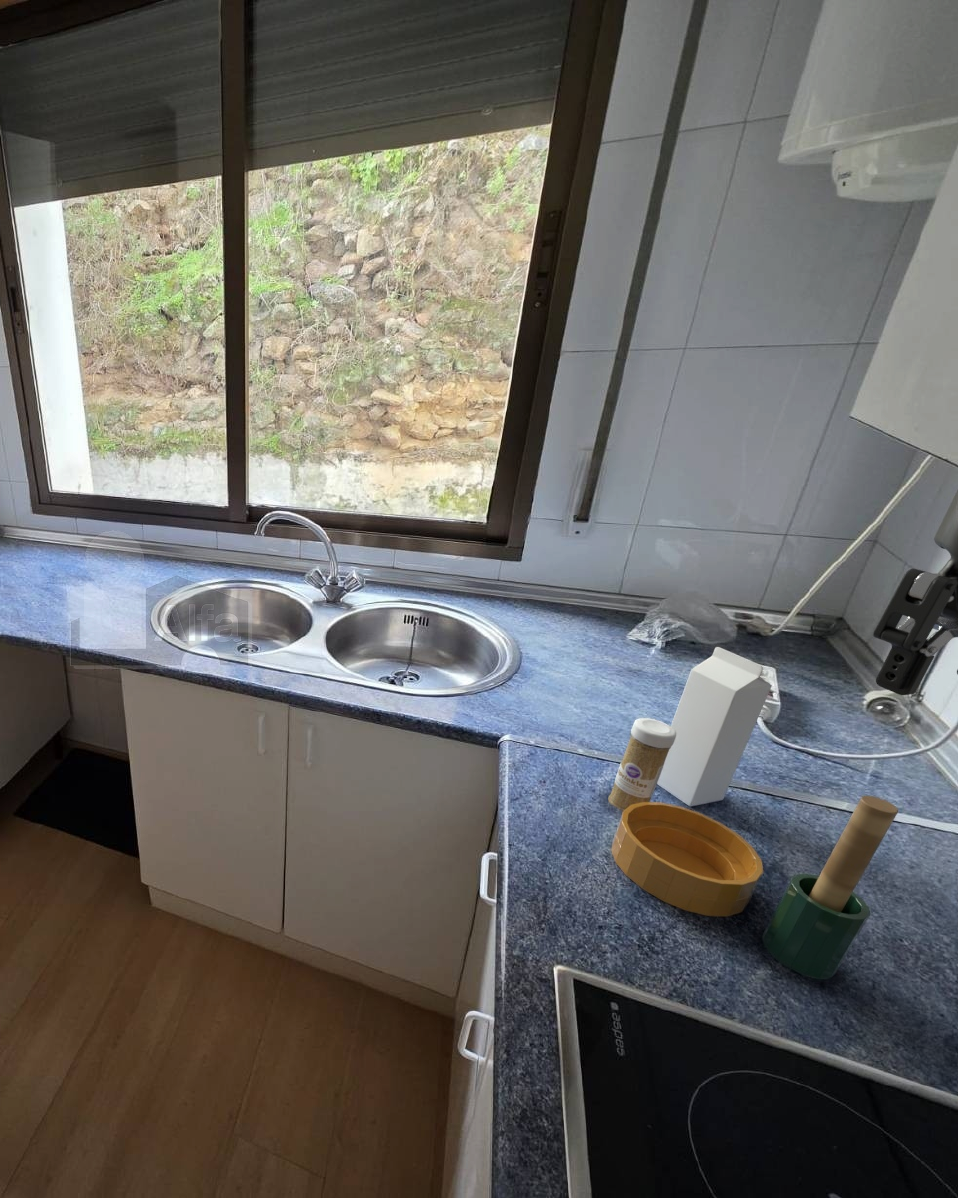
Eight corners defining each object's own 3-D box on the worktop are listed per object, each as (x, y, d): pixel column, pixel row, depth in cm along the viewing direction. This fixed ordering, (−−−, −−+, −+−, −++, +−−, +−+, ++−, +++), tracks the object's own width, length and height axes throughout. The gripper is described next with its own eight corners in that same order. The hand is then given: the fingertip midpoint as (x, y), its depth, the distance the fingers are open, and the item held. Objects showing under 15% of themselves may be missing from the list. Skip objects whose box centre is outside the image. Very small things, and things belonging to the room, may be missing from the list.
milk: (682, 774, 94) (733, 643, 86) (724, 801, 89) (782, 663, 81) (649, 780, 93) (698, 647, 85) (689, 807, 88) (745, 669, 79)
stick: (805, 947, 67) (888, 798, 59) (818, 967, 65) (905, 815, 57) (777, 940, 68) (855, 792, 60) (788, 960, 66) (870, 809, 58)
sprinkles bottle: (603, 806, 88) (630, 725, 83) (612, 791, 91) (639, 712, 86) (642, 823, 85) (673, 740, 80) (650, 807, 88) (680, 726, 83)
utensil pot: (814, 943, 68) (849, 882, 65) (845, 990, 63) (884, 926, 60) (750, 928, 70) (780, 867, 66) (775, 972, 65) (809, 909, 62)
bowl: (718, 850, 81) (733, 816, 78) (768, 935, 69) (786, 898, 67) (598, 824, 85) (609, 792, 83) (627, 901, 74) (640, 865, 71)
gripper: (1036, 512, 42) (922, 719, 48) (1195, 501, 44) (1066, 701, 50) (896, 487, 48) (813, 671, 55) (1040, 479, 51) (944, 657, 57)
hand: (934, 685), depth 52 cm, fingers open, 8 cm apart
